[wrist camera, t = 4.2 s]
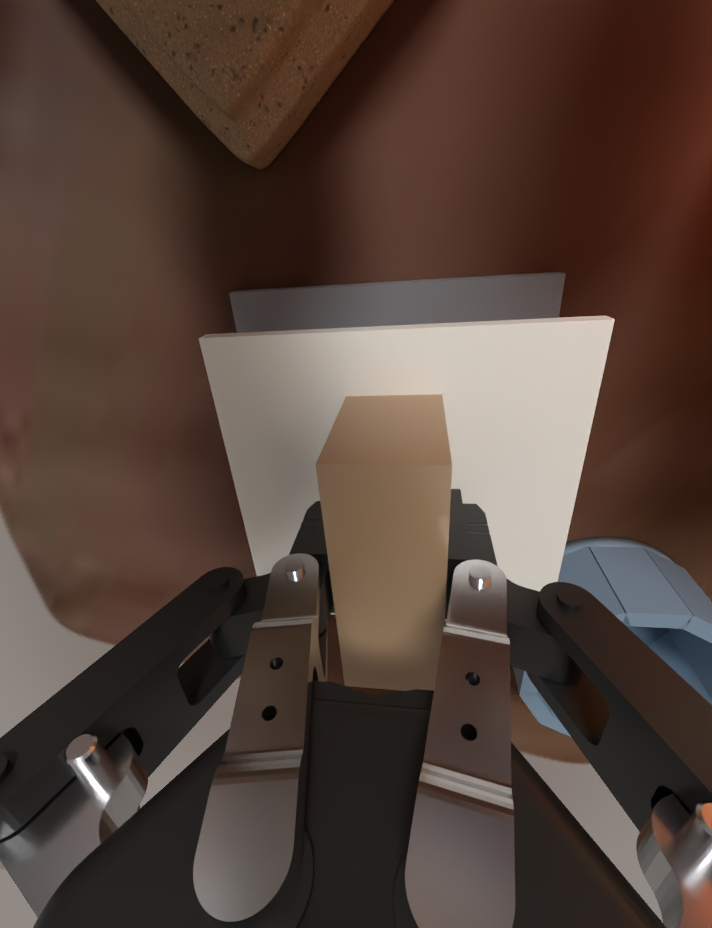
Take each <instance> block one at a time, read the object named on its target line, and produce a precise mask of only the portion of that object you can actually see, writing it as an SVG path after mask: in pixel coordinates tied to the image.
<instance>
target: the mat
mask: <svg viewBox="0 0 712 928" xmlns="http://www.w3.org/2000/svg"><path fill="white" fill-rule="evenodd" d="M565 276H566V273H562V272H547V273H530V274H512V275H495V276H478V277H461V278H443V279H426V280H409V281H391V282H374V283H357V284H340V285H322V286H305V287H288V288H270V289H253V290H236V291H233V292H230V293H229V295H230V300H231V305H232V311H233V316H234V321H235V326H236V331H237V333H244V332H265V331H287V330H308V329H329V328H350V327H371V326H393V325H414V324H435V323H456V322H477V321H499V320H520V319H541V318H559V313H560V307H561V300H562V294H563V288H564V282H565Z"/></svg>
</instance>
